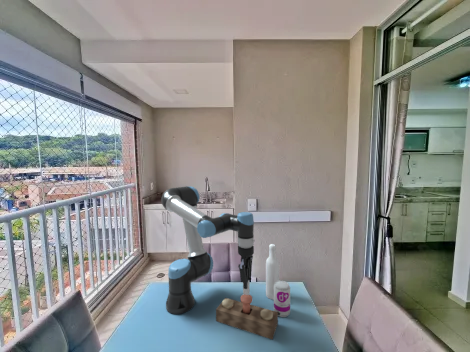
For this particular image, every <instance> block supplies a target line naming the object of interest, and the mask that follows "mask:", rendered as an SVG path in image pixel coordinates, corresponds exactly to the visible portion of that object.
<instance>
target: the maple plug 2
mask: <svg viewBox="0 0 470 352" xmlns="http://www.w3.org/2000/svg"><path fill="white" fill-rule="evenodd" d="M272 311H273V310H272ZM272 311H271V309H268V308H265V309H263V310H262V311H261V318H262V319H263V320H266V321H271V319H272V318H273V312H272Z"/></svg>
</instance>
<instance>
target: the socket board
mask: <svg viewBox="0 0 470 352" xmlns="http://www.w3.org/2000/svg"><path fill="white" fill-rule="evenodd" d="M225 299H229V298H228V297H224V299H223V300H225ZM232 300H233V307H232V308H231V309H225V308H223V306H222V302H221V303H219V305H218V306H217V307H216V309H215V321H216V322H218V323H220V324H221V323H222V324H224V325H226V326H229V327H233V328H236V329H239V330H242V331H245V332H248V333H251V334H254V335H257V336H260V337H263V338H265V339H270V340H273V339H274V336H275V333H276V330H277V327H278V324H279V320H278V319H279V316H278V312H276V311H274V310H271V309H270V310H271V311H272V312H273V318H272V319H271V321H266V320H263V319H262V318H261V311H262V310H263V309H266V308H264V307H261V306H257V305H253V304H250V313H249V314H244V313H243V303H241V301H239V300H235V299H232Z"/></svg>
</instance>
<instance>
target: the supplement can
mask: <svg viewBox="0 0 470 352" xmlns="http://www.w3.org/2000/svg"><path fill="white" fill-rule="evenodd" d="M273 311H276V312H278V317H280V318H286V317H288V316H290V315H291V287H290V283H289V282H287V281H285V280H279V281H276V282H275V284H274V300H273Z"/></svg>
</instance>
